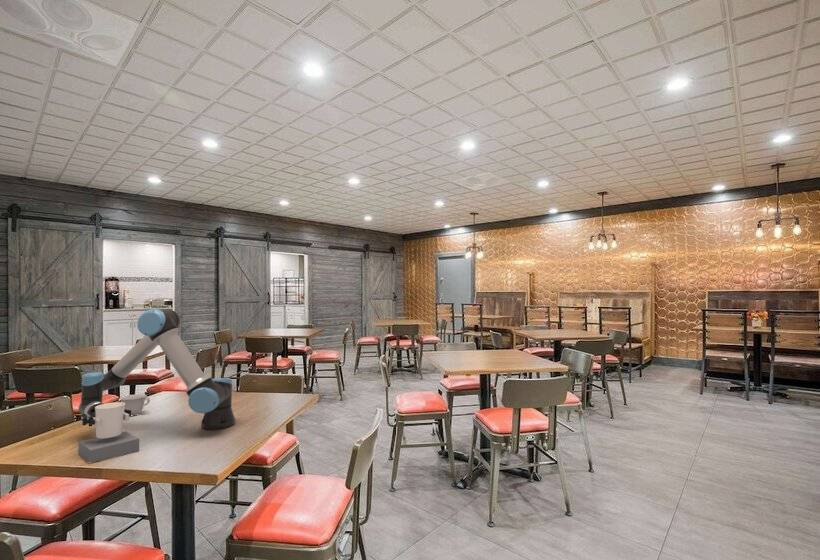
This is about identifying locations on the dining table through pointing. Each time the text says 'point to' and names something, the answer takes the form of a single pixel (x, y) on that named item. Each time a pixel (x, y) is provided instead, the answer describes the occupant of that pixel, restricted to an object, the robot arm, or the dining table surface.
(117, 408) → the candle holder
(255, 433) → the dining table surface
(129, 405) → the teacup
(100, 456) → the riser block
